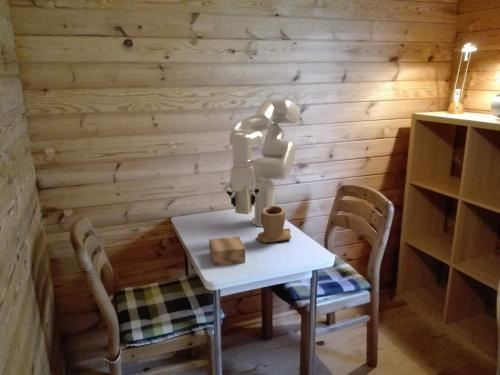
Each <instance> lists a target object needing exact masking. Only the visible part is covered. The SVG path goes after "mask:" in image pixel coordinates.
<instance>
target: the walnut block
mask: <svg viewBox="0 0 500 375" xmlns="http://www.w3.org/2000/svg"><path fill="white" fill-rule="evenodd" d="M208 242H209V254H210V258H211V261H212V265H213V266H214V267H216V266H224V265H234V264H244V263H246V247H245V245H244V244H243V241H242V240H241V238H240V236H231V237H221V238H211V239H210V238H209V241H208Z"/></svg>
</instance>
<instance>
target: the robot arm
mask: <svg viewBox="0 0 500 375" xmlns="http://www.w3.org/2000/svg"><path fill="white" fill-rule="evenodd" d="M300 119H301V111H300V109H299V106H297V105H296V104H295V103H294V102H292V101H291V100H289V99H285V98H284V99H282V98H274V99H273V98H270V99H266V100H264V101H263V102H262V104H261V105H260V106H259V108H257V110H256V112H255V113H254V114H253V115H250V116H248V117H246V118H244V119H242V120H240V121H238V122H237V124H235V125H234V127H233V128H232V130H231V132H230V134H229V140H228V141H229V144H230V145H231V148H232V149H231V150H232V166H231V167H230V174H229V182H228V183H227V184H226V185H224V186H223V188H222V189H223V190H224V192H226V194H227V195H228V197H230V204H231V205H232V206H233V207H234V208H235V197H234V195H235V193H236V192H240V191H242V187H243V186H248V187H249V191H251V197H252V206H254V217H253V218H252V219H251V224H252V225H254V226H257V227H262V228H263V226H262V223H261V212H262V210H263V209H264V208H266V207H270V206H276V205H275V195H276V194H275V193H276V191H275V190H276V189H275V188H276V187H275V184H274V182H273V181H272V180H280V181H281V180H282V181H283V180H286V179H288V176H289V175H290V172H291V168H292V166H293V162H294V159H295V156H296V146H295V143H294V142H293V141H291V140H285V132H284V130H283V128H282V127H281V126H280V125H279V124H288V125H289V124H297V123H298V122H299V120H300ZM266 130H267V132H266V136H265V138H264V134H263V133H262V131H266ZM259 148H261V153H260V154H261V156H262V157H257V158H255V159H252V150H256V149H259ZM229 188H230V189H231V191H230V190H229Z"/></svg>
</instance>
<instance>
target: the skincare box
mask: <svg viewBox="0 0 500 375" xmlns="http://www.w3.org/2000/svg"><path fill="white" fill-rule="evenodd" d="M251 194H252V192H251V191H249V187H248V186H243V187H242V191H240V192H236V193H235V195H234V197H235V207H234V213H235V214H240V215H249V214H251V213H253V205H252V197H251Z"/></svg>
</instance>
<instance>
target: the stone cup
mask: <svg viewBox="0 0 500 375" xmlns="http://www.w3.org/2000/svg"><path fill="white" fill-rule="evenodd" d="M286 215H287V214H286V211H285V208H283V207H282V206H280V205H275V206H270V207H266V208H264V209H263V210H262V212H261V223H262V226H263V227H262V229H263V231H262V232H261V231H260V232H258V234H257V239H258V240H259V241H260V242H263V243H274V242H275V243H276V242H281V241H288V240H290V239H292V234H291V229H290V228H284V227H285V226H284V225H285V222H286V217H287V216H286Z"/></svg>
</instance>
